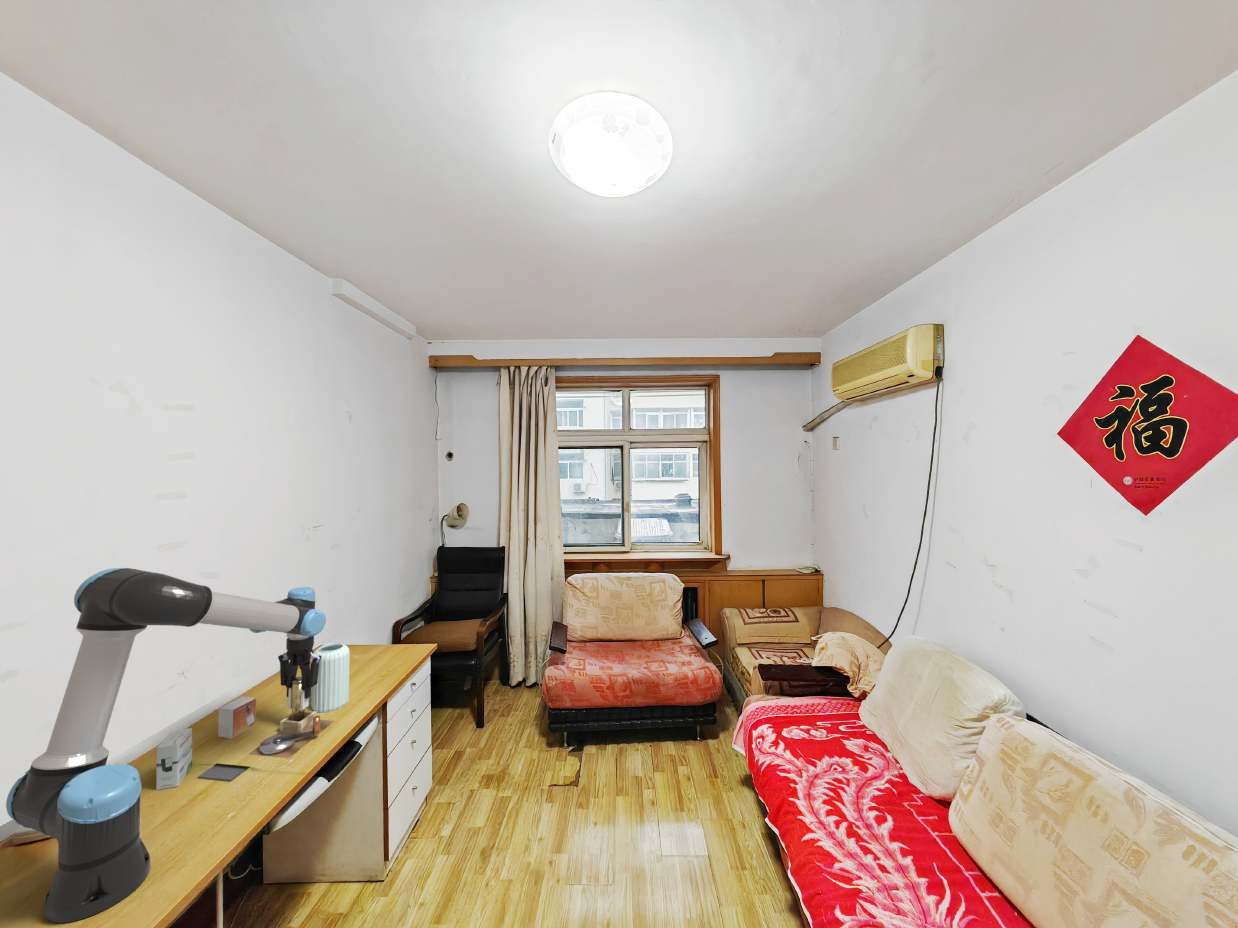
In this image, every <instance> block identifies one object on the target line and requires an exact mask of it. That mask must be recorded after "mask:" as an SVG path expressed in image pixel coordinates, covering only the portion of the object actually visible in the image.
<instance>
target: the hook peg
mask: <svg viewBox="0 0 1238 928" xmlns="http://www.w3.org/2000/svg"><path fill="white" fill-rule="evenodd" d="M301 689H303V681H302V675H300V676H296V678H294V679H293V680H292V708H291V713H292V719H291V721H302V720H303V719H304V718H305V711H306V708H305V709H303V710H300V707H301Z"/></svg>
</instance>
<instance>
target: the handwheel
mask: <svg viewBox="0 0 1238 928" xmlns="http://www.w3.org/2000/svg"><path fill="white" fill-rule="evenodd" d="M320 720H321V716H320V715H317V716H315V717H313V731H309V732H304V733H300V734H295V735H294V734H292V733H281V734H277V733H276V734H277V735H275V734H273V735H271V736H269V737H267V738H265V739H263V741H261V742H260V744H259V745H258V747H259V751H260V753H262V754H276V753H280V752H282V751H285V750H287V749H289V748H290V747H292V746H293V745H294V743H295V739H296V738H300V737H305V736H309V735H317V734H318V735H320V734H321V733H320ZM319 733H320V734H319ZM318 735H317V736H318Z"/></svg>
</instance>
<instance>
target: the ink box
mask: <svg viewBox="0 0 1238 928" xmlns="http://www.w3.org/2000/svg"><path fill="white" fill-rule="evenodd" d="M155 753H156V757H155V758H156V760H155V761H156V766H155V767H156V771H155V772H156V775H155V777H156V778H155V779H156V781H155V782H156V786H155V787H156V791H157V790H164V789H170V788H176V787H179V785H180V784H181V783H182V782H183V781H184V779H185V777H186V776H187V775H188V773H189V772H190V770H191V769H192V767H193V728H191V727H190V728H182V729H176V730H172V731H171V732H169V734H168V735H167V736H166V737H165V738H164V739H163V740H162V741H161V742H160V744H159V745H158V746H157V747H156V752H155Z"/></svg>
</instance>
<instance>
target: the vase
mask: <svg viewBox="0 0 1238 928" xmlns="http://www.w3.org/2000/svg"><path fill="white" fill-rule="evenodd" d="M313 652H314V655H316V656H319V655H320V656H321V660H320V662H319V671H318V683H317V684H316V685H315V686H313V687H312V688H311V696H310V697H311V701H310V705H311V708H312V711H317V713H327V712H329V713H330V712H334V711H336V710H339V709H340V708H343V707H344V706H346V704H348V702H349V699H350V697H349V696H350V695H349V694H350V660H351V659H350V655H351V654H350V653H351V650H350V648H349V646H347V645H346V644H343V643H341V642H331V643H327V644H324V645H321V646H320V647H318V648H317V649H316V650H315V651H313Z"/></svg>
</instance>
